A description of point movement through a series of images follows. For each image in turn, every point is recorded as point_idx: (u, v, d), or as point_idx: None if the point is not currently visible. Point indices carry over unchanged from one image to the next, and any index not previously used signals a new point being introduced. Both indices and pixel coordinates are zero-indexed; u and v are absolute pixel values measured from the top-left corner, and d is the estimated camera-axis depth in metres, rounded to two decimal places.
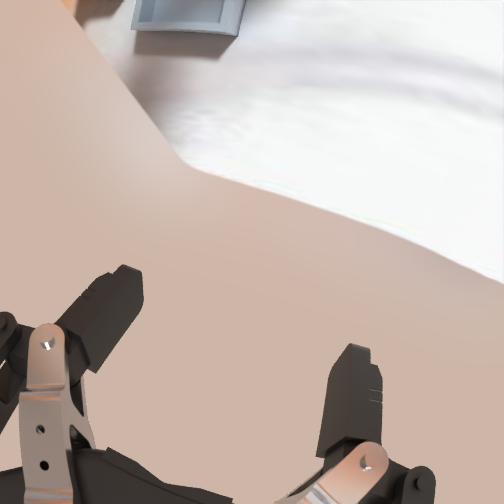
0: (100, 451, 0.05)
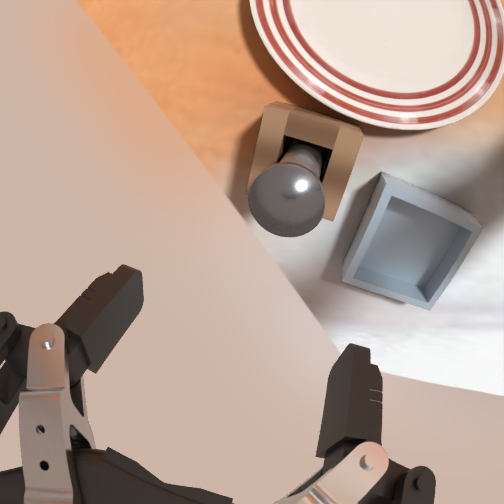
0: (100, 451, 0.05)
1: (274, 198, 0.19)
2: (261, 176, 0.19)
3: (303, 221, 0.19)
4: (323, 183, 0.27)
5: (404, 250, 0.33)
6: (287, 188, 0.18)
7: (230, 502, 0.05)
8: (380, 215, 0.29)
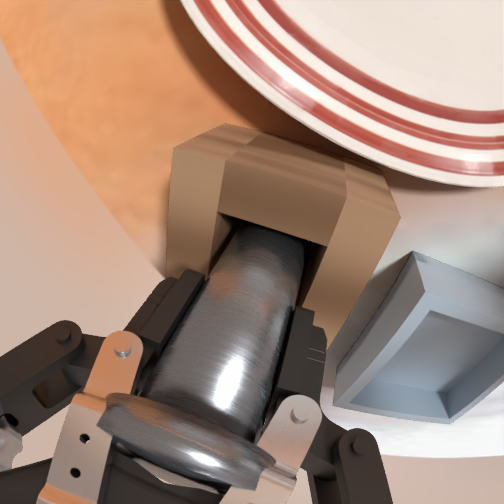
0: None
1: (145, 461, 0.06)
2: None
3: (222, 495, 0.06)
4: (304, 306, 0.13)
5: (430, 358, 0.20)
6: (165, 465, 0.05)
7: None
8: (405, 337, 0.15)
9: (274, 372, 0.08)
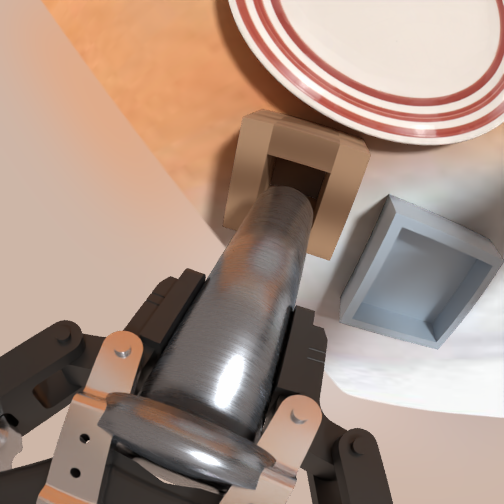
0: None
1: (145, 461, 0.06)
2: None
3: None
4: (318, 215, 0.22)
5: (413, 284, 0.28)
6: (165, 464, 0.05)
7: None
8: (387, 250, 0.24)
9: (274, 372, 0.08)
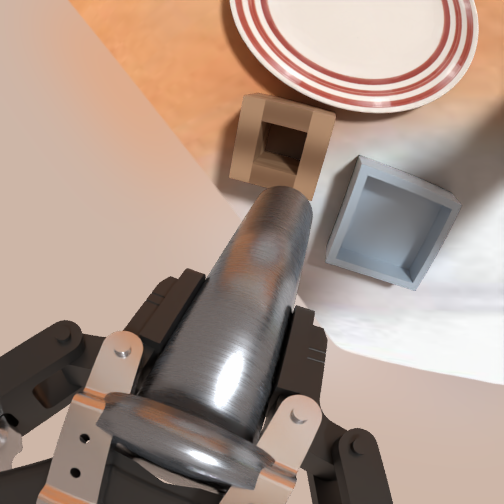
0: None
1: (144, 461, 0.06)
2: None
3: None
4: (300, 164, 0.28)
5: (386, 231, 0.35)
6: (164, 464, 0.05)
7: None
8: (358, 195, 0.30)
9: (273, 372, 0.08)
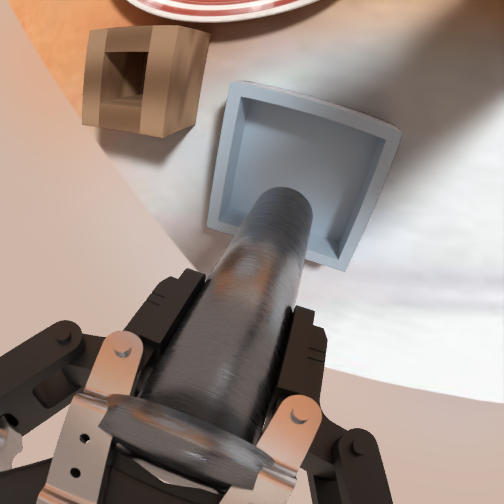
0: None
1: (145, 462, 0.06)
2: None
3: None
4: (144, 92, 0.19)
5: (295, 183, 0.26)
6: (165, 466, 0.05)
7: None
8: (231, 126, 0.21)
9: (273, 373, 0.08)
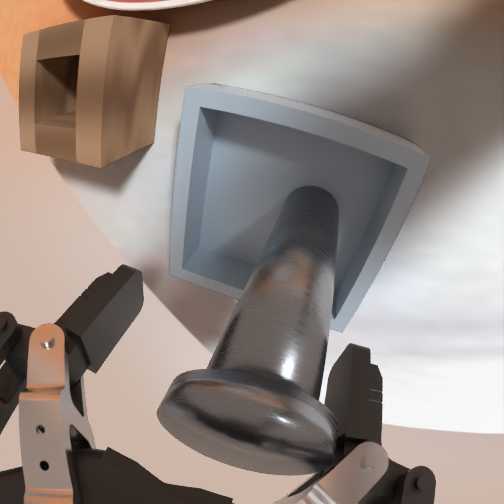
0: (100, 451, 0.05)
1: (214, 438, 0.07)
2: (174, 407, 0.06)
3: (281, 467, 0.07)
4: (77, 109, 0.14)
5: None
6: (241, 436, 0.06)
7: (230, 502, 0.05)
8: (189, 148, 0.16)
9: (325, 349, 0.09)
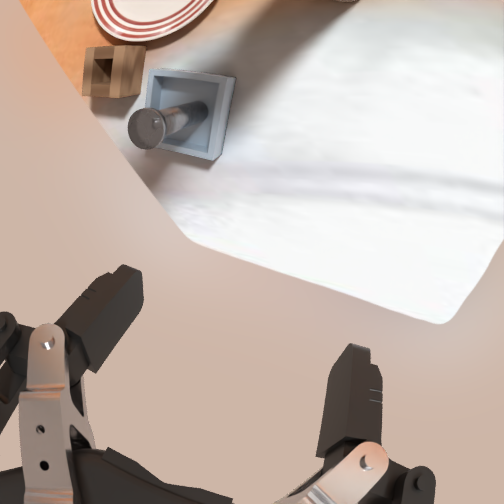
0: (100, 451, 0.05)
1: (139, 127, 0.31)
2: (132, 116, 0.30)
3: (154, 138, 0.31)
4: (111, 77, 0.37)
5: None
6: (144, 120, 0.30)
7: (230, 502, 0.05)
8: (150, 90, 0.39)
9: (172, 118, 0.33)
